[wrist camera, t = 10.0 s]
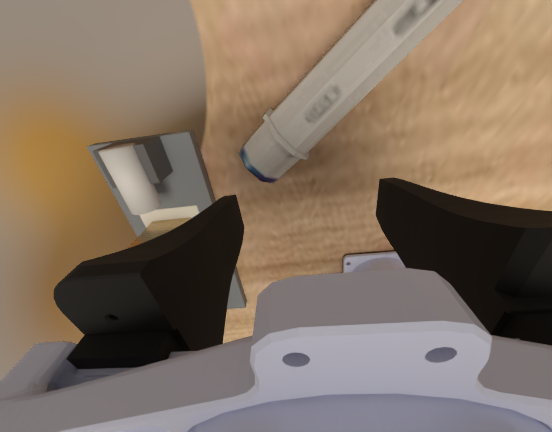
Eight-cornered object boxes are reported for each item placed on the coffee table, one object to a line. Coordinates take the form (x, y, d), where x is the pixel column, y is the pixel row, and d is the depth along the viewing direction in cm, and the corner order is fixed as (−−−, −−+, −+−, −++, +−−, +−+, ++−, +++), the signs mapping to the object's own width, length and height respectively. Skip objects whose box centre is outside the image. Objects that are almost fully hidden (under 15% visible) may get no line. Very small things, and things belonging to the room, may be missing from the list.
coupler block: (210, 269, 26) (196, 307, 22) (177, 271, 26) (156, 309, 22) (190, 217, 22) (168, 250, 18) (152, 221, 23) (121, 254, 18)
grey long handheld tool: (224, 152, 16) (1196, -1022, 3) (246, 125, 21) (650, -364, 9) (278, 198, 18) (1043, -444, 5) (286, 163, 23) (670, -196, 10)
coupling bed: (246, 301, 30) (240, 335, 26) (182, 305, 31) (167, 338, 27) (193, 129, 19) (168, 143, 15) (95, 143, 20) (47, 160, 16)
